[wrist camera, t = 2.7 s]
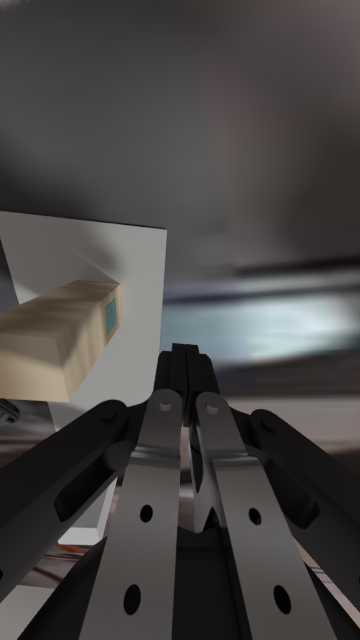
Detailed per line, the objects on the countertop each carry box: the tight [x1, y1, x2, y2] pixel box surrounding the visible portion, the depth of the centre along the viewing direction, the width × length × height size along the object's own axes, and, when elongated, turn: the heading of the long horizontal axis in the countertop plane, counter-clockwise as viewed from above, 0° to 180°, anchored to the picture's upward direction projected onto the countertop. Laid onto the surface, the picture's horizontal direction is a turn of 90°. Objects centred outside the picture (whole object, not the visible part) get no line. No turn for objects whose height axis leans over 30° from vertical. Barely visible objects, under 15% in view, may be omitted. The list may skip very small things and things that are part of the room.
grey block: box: [58, 478, 117, 545], centre depth 22 cm, size 4×4×10 cm
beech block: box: [0, 280, 122, 403], centre depth 13 cm, size 4×4×10 cm
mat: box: [0, 211, 167, 432], centre depth 22 cm, size 14×34×1 cm, turn 174°
